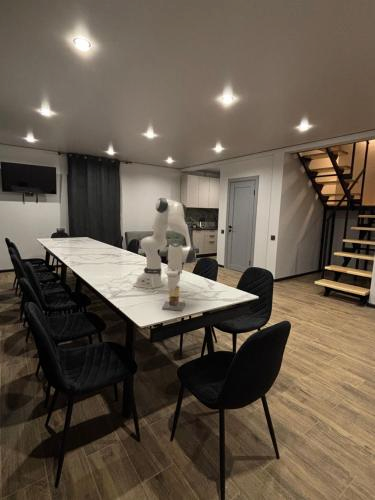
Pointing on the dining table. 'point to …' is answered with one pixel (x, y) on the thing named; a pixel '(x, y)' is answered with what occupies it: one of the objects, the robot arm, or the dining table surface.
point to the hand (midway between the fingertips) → (174, 292)
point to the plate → (178, 308)
